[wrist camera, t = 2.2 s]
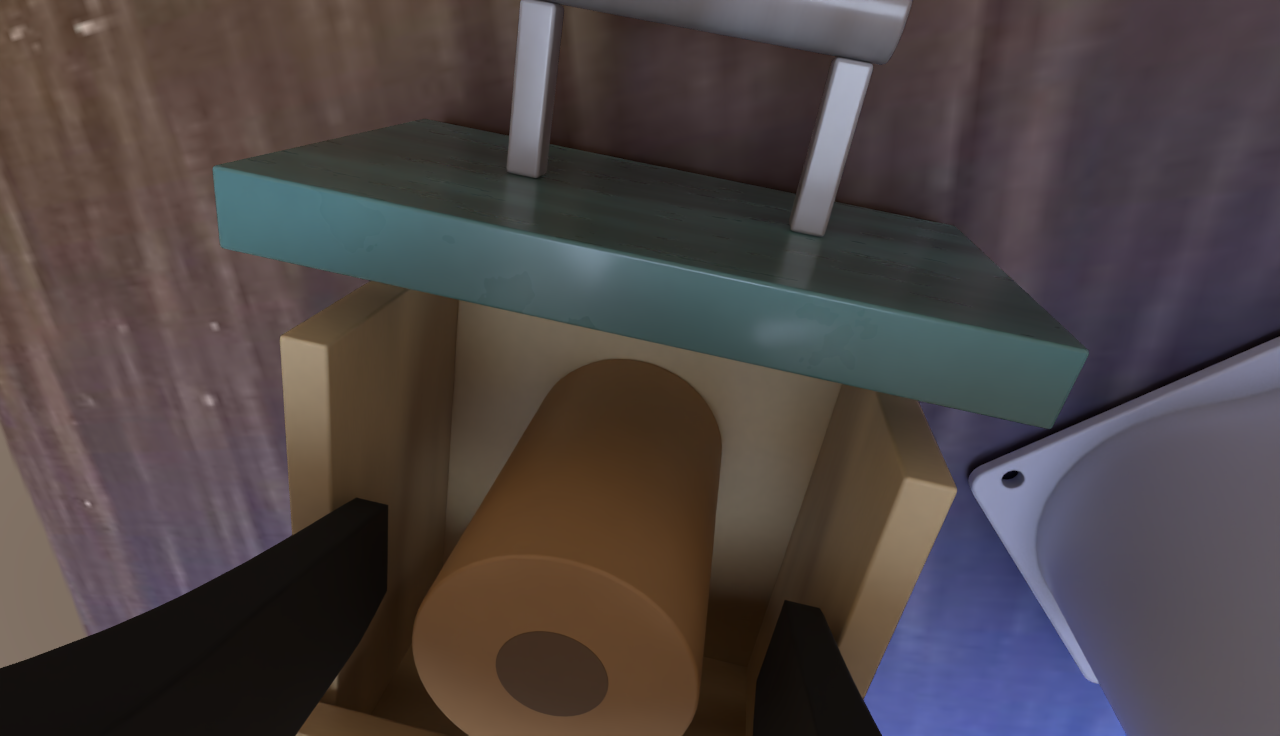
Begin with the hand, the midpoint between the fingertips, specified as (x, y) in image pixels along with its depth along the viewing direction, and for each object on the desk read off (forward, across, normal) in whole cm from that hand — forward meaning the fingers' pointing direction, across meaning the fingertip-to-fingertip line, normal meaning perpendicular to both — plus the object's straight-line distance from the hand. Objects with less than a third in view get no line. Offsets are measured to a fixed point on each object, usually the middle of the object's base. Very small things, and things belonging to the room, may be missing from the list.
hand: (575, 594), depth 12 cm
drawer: (+6, 0, -2) cm, 7 cm away
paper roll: (+5, 0, 0) cm, 5 cm away
